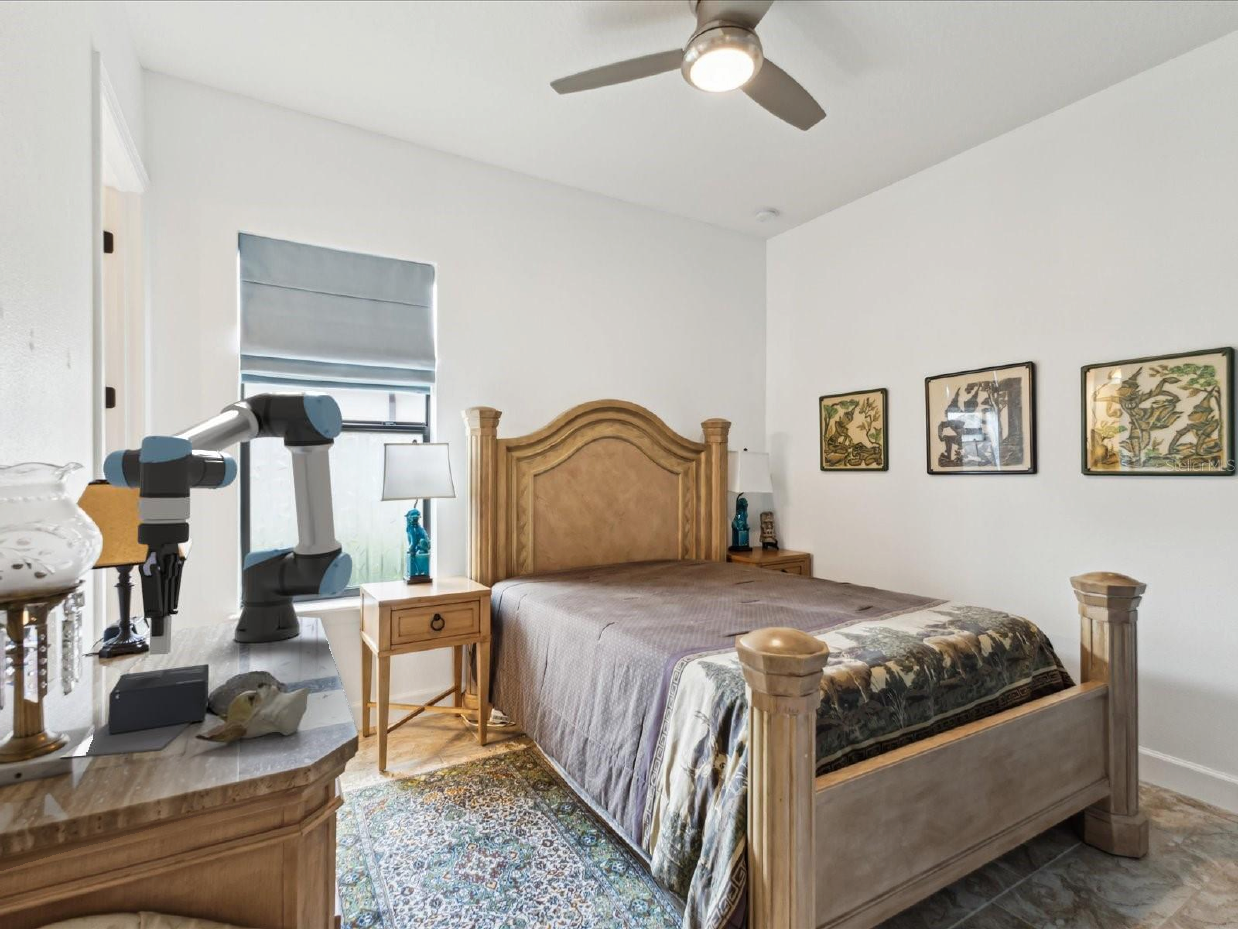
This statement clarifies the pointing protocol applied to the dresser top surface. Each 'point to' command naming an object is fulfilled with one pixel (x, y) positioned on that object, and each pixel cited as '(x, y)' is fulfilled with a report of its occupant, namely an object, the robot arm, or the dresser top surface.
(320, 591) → the robot arm
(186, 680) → the small box
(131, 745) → the mat
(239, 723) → the ceramic sculpture
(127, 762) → the dresser top surface
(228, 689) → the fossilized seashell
